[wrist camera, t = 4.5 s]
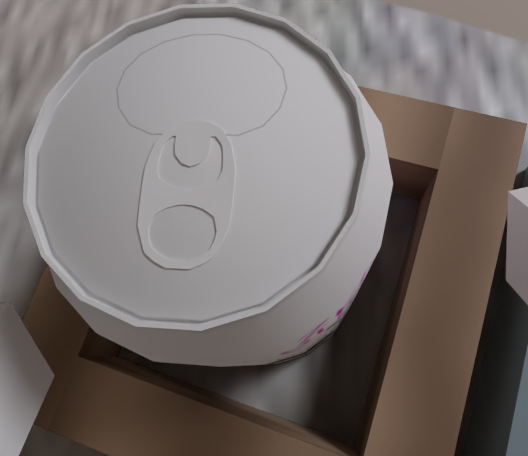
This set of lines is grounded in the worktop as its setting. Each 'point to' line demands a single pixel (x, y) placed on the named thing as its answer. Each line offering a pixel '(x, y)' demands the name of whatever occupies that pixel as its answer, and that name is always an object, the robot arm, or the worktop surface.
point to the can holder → (395, 337)
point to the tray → (503, 380)
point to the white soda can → (208, 187)
